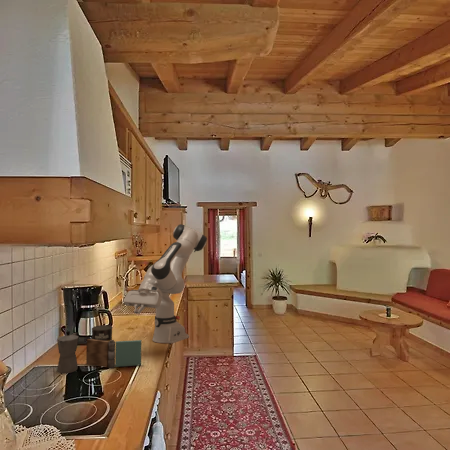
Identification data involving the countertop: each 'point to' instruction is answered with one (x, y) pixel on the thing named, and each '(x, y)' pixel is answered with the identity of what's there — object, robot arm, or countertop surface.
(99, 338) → the coffee can
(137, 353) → the teal flat block
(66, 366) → the coffeepot
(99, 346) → the dark wooden block
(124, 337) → the countertop surface
